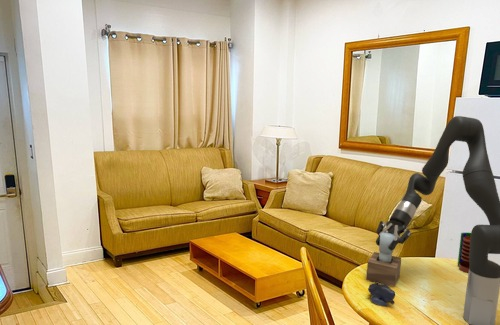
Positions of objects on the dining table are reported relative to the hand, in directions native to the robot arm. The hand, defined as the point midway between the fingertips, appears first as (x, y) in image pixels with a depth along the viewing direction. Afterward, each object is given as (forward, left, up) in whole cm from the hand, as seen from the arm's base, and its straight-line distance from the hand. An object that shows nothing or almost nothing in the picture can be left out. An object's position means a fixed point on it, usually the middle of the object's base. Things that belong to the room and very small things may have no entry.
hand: (383, 246), depth 156 cm
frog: (-18, -4, -14) cm, 23 cm away
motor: (+31, -32, -14) cm, 47 cm away
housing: (+1, -1, -14) cm, 14 cm away
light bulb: (+2, -1, -9) cm, 9 cm away
